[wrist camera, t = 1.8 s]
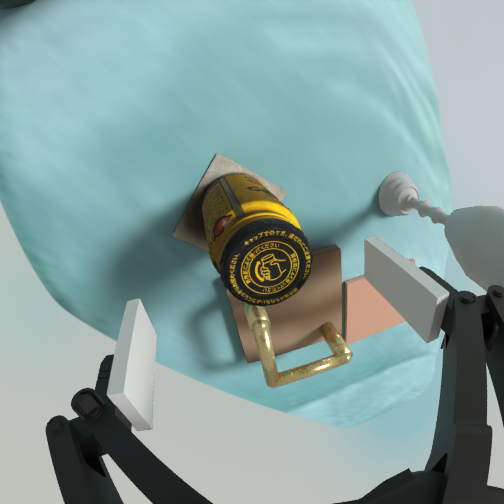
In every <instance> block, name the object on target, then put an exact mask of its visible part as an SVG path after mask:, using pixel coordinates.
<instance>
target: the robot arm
mask: <svg viewBox="0 0 504 504" xmlns="http://www.w3.org/2000/svg"><path fill="white" fill-rule="evenodd" d="M31 1H33V0H0V8H1V9H6V8H13V7H17V6H21V5H23V4H26V3H29V2H31ZM364 245H365V274H364V278H365V279H366V280H367V281H368V282H369V283H370V284H371V285H372V286H373V287H374V288H375V289H376V290H377V291H378V292H379V293H380V294H381V295H382V296H383V297H384V298H385V299H386V300H387V301H388V302H389V303H390V304H391V305H392V307H393V308H394V309H395V310H396V311H397V312H398V313H399V314H400V315H401V316H402V317H403V318H404V319H405V320H406V321H407V322H408V323H409V324H410V326H411V327H412V328H413V329H414V330H415V331H416V332H417V333H418V334H419V335H420V336H421V337H422V338H423V340H424V341H425V342H426V343H429V342H431V341H433V340H435V339H437V338H438V337H439V333H440V330H441V329H442V330H443V331H444V332H445V335H444V339H443V342H442V345H441V349H442V348H443V368H442V381H441V392H440V400H439V408H438V416H437V422H436V429H435V434H434V440H433V445H432V450H431V454H430V457H429V460H428V462H427V464H426V467H425V470H424V471H417V472H411V471H410V469H409V468H408V469H407V470H405V471H403V472H401V473H399V474H397V475H395V476H393V477H391V478H389V479H387V480H385V481H384V482H382V483H381V484H380V485H378V486H377V487H376V488H375V489H373V490H372V491H371V492H369V493H368V494H366V495H365V496H364V497H362V498H361V499H358V500H353V501H348V502H341V503H334V504H504V489H502V488H497V487H493V486H488V485H487V480H488V473H489V466H490V456H491V446H492V445H491V444H492V427H491V426H488V425H487V373H486V363H487V366H488V369H489V373H490V375H491V379H492V382H493V386H494V389H495V393H496V397H497V400H498V404H499V408H500V412H501V416H502V421H503V426H504V287H502V286H499V285H492V286H490V287H489V288H488V290H487V294H486V295H482V296H476V295H475V294H473V293H471V292H469V291H460V292H458V291H457V290H456V289H454V288H453V287H452V286H451V285H449V284H448V283H447V282H445V281H444V280H443V279H442V278H441V277H439V276H437V274H435V273H434V272H433V271H431V270H430V269H427V268H425V267H419V268H418V267H417V266H416V265H414V264H413V263H412V262H410V261H409V260H408V259H406V258H405V257H404V256H402V255H401V254H400V253H398V252H397V251H396V250H394V249H393V248H392V247H390V246H389V245H388V244H386V243H385V242H383V241H382V240H381V239H379V238H378V237H376V236H372V237H368V238H364ZM156 343H157V334H156V332H155V330H154V328H153V326H152V324H151V322H150V320H149V317H148V315H147V313H146V311H145V309H144V307H143V304H142V302H141V300H140V298H138V299H134V300H130V301H127V304H126V308H125V312H124V316H123V320H122V324H121V328H120V332H119V336H118V341H117V345H116V350H115V354H113V355H107V356H106V357H105V358H104V360H103V361H102V363H101V365H100V369H99V374H98V380H97V382H96V387H95V390H93V389H91V388H85V389H82V390H80V391H79V392H77V393H76V394H75V395H74V397H73V399H72V401H71V406H72V409H73V410H74V411H75V412H76V413H77V414H78V416H79V417H77V418H75V419H72V420H69V421H68V420H67V419H66V418H65V417H64V416H60V415H59V416H55V417H53V418H52V419H50V421H49V422H48V423H47V426H46V436H47V441H48V446H49V450H50V454H51V458H52V463H53V466H54V470H55V474H56V477H57V481H58V484H59V487H60V491H61V494H62V497H63V500H64V502H65V504H124V503H123V501H122V500H121V498H120V495H119V493H118V491H117V489H116V487H115V485H114V483H113V481H112V479H111V477H110V475H109V472H108V470H107V468H106V466H105V463H104V461H103V459H102V455H105V454H109V456H110V457H111V458H112V459H113V460H114V462H115V463H116V464H117V465H118V466H119V468H120V469H121V470H122V471H123V472H124V473H125V475H126V476H127V477H128V478H129V479H130V480H131V481H132V482H133V483H134V485H135V486H136V487H137V488H138V489H139V490H140V491H141V492H142V493H143V494H144V495H145V496H146V497H147V498H148V499H149V500H150V501H151V502H152V503H153V504H213V503H211V502H210V501H209V500H207V499H206V498H205V497H203V496H202V495H201V494H199V493H198V492H197V491H196V490H194V489H193V488H192V487H191V486H189V485H188V484H187V483H185V482H184V481H183V480H182V479H181V478H180V477H178V476H177V475H176V474H175V473H174V472H173V471H171V470H170V469H169V468H168V467H167V466H166V465H165V464H163V462H161V461H160V460H159V459H158V458H157V457H156V456H155V455H154V454H153V453H152V452H151V451H150V450H149V449H148V448H147V447H146V446H145V445H143V443H142V442H141V441H140V440H138V438H137V437H136V436H135V435H134V434H133V433H132V432H131V427H132V426H133V427H134V428H135V429H136V430H137V431H142V430H151V429H153V396H154V374H155V373H154V372H155V357H156ZM443 346H444V347H443Z"/></svg>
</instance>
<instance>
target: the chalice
mask: <svg viewBox="0 0 504 504" xmlns="http://www.w3.org/2000/svg"><path fill="white" fill-rule="evenodd" d="M378 202H379V205H380V208H381V210H382V211H383V212H384V213H385V214H387V215H388V216H401V215H402V216H404V215H408V214H409V213H411V212H413V211H414V210H415V209H417V210H418V212H419V215H420V216H421V217H425V216H429V217H430V218H431V219H432V222H433V223H441V224H444V225H445V230H444V231H445V236H446V239H447V241H448V243H449V245H450V247H451V249H452V251H453V253H454V255H455V258H456V260H457V261H458V262H459V264H460V266H461V267H462V269H463V271H464V272H465V274H466V276H468V277H469V278H470V279H471V280H473V281H474V282H475V283H477V284H478V285H479V286H480V287H482V288H483V289H484V290H485V291H487V290H488V288H489V287H490V286H492V285H499V286H502V287H504V209H502V208H499V207H496V206H474V207H468V208H462V209H457V210H454V211H453V212H452V213H451V214H450V215H447V214H446V213H444V212H443V210H442V208H441V207H436V208H434V207H432V206H431V203H430V201H429V200H424V201H419V194H418V189H417V187H416V186H415V185H414V183H413V182H412V181H411V180H410V178H409V176H407V175H406V174H405V173H403V172H393V173H392V174H390V175H388V176H387V177H386V178H385V180H384V181H383V183H382V184H381V186H380V190H379V194H378Z"/></svg>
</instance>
